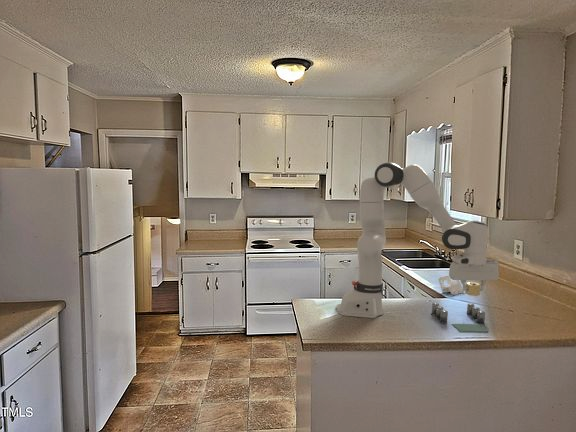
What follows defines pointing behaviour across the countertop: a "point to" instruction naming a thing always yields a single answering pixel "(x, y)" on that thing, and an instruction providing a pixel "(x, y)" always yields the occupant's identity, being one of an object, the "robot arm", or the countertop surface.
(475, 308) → the spacer rows
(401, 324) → the countertop surface
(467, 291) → the brass nut
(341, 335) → the countertop surface
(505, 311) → the countertop surface
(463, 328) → the rubber mat
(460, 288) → the mounting bracket
